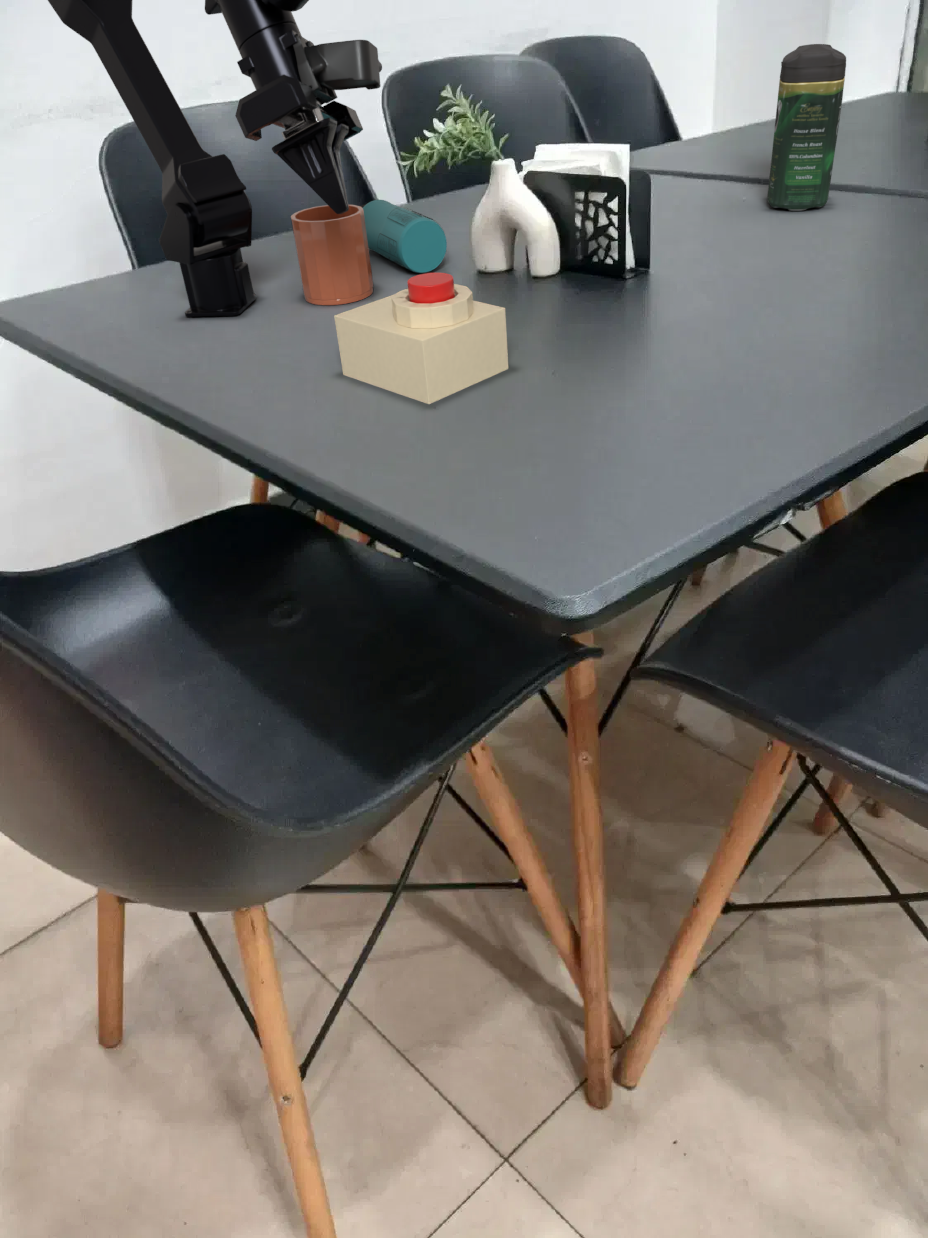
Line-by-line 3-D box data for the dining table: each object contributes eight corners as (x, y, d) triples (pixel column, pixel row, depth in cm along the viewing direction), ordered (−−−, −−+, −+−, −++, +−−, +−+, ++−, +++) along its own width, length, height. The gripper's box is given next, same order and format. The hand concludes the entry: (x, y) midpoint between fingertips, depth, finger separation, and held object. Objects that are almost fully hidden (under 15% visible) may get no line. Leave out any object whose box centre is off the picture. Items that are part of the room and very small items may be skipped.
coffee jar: (830, 211, 126) (852, 46, 115) (766, 213, 128) (782, 50, 117) (826, 194, 134) (847, 38, 123) (766, 196, 136) (781, 42, 125)
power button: (400, 301, 85) (397, 281, 84) (433, 289, 87) (431, 269, 86) (430, 309, 83) (428, 288, 82) (464, 296, 85) (462, 276, 84)
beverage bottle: (430, 207, 111) (365, 180, 126) (392, 252, 112) (332, 220, 127) (464, 247, 116) (397, 216, 131) (428, 290, 116) (365, 254, 131)
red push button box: (343, 375, 91) (330, 295, 87) (421, 344, 97) (413, 267, 92) (429, 405, 84) (420, 319, 80) (508, 369, 89) (504, 287, 85)
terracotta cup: (296, 306, 110) (281, 223, 105) (315, 285, 117) (302, 205, 112) (364, 304, 109) (352, 219, 104) (380, 282, 116) (370, 202, 110)
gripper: (314, -36, 76) (396, 164, 80) (373, 18, 93) (439, 180, 97) (196, 34, 79) (281, 223, 83) (275, 74, 96) (342, 229, 100)
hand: (343, 212), depth 91 cm, fingers closed
